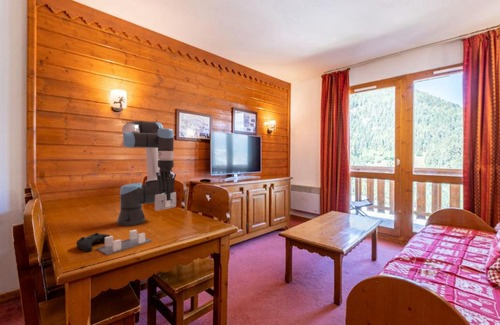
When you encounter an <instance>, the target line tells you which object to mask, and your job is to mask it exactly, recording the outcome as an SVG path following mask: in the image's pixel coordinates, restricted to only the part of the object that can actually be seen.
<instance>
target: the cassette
mask: <svg viewBox="0 0 500 325" xmlns="http://www.w3.org/2000/svg"><path fill="white" fill-rule="evenodd" d="M164 199H165V194H158V195H155V203H154V211H157V212H158V211H163V210H167V209H168V210H169V209H172V208H176V207H177V192H176V191H174V192H173V193H171V199H170V206H169V207H165V202H164Z"/></svg>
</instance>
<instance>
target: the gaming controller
mask: <svg viewBox="0 0 500 325" xmlns="http://www.w3.org/2000/svg"><path fill="white" fill-rule="evenodd" d="M109 236H111V235H110V234H106V233H99V232H95V233H92V234H90V235H88V236H82V237H80V239H78V240H76V241H75V242H76V243H75V244H76V248H77V249H79V250H80V249H81V250H82V251H83V252H85V253H90V252H92V251H93V244H92V243H97V242H101V243H102V242H103V243H105V237H109Z"/></svg>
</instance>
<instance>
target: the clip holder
mask: <svg viewBox="0 0 500 325" xmlns="http://www.w3.org/2000/svg"><path fill="white" fill-rule="evenodd" d="M128 234H129V235H128V236H129V237H128V239H124V240H122V239H120V238H119V239H115V240H114V236H113V235H110V236H109V237H105V242H104V246H103V245H102V246H100V247H97V248H96V250H97V251H99V252H100V253H102V254H104V255H106V256H109V255H113V254H116V253H119V252H122V251H125V250H129V249H131V248H134V247H138V246H141V245H143V244H144V245H145V244H147V243H150V242H152V241H153V240H152V239H150V238H147V237H146V232H141V233H138V230H137V229H133V230H129V233H128Z"/></svg>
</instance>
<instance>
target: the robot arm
mask: <svg viewBox="0 0 500 325" xmlns="http://www.w3.org/2000/svg"><path fill="white" fill-rule="evenodd" d="M121 132H122V143H123V144H122V145H123V147H124V148H145V158H146V176H147V178H146V179H147V180H145V181H144V184H143V183H142V182H131V183H128V184H124V185H122V186H120V190H119V195H120V196H119V198H120V200H119V202H120V203H119V204H120V206H119V208H120V210H119V214H118V217H117V219H116V220H117V221H116V225H118V226H121V227H123V226H126V227H129V226H130V227H131V226H136V225H141V224H143V223H145V222H146V217H145V213H144V211H143V205H147V204H155V195H158V194H165V199H164V202H165V207H169V206H170V199H171V193H173V192H175V191H174V190H175V182H176V181H175V180H176V176H177V173H173V168H174V165H175V164H174V162H175V161H174V159H175V156H174V155H175V153H174V149H175V148H174V145H175V143H174V142H175V141H174V140H175V139H174V137H175V135H174V130H173V129H172V128H164V126H163V124H162V123H161V122H157V121H142V120H134V121H129V122H126V123H125V124H124V125H123V127H122V128H121Z"/></svg>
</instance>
